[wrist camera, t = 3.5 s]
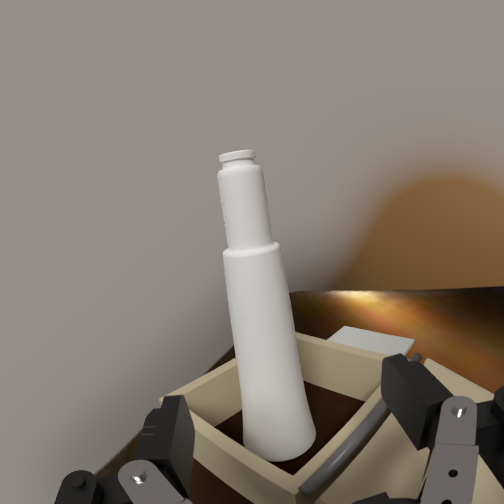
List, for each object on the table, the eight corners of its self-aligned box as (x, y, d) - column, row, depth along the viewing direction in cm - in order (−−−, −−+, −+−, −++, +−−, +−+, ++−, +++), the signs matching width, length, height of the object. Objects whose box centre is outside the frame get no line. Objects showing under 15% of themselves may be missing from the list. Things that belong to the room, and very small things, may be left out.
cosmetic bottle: (267, 474, 20) (209, 148, 15) (231, 432, 25) (175, 165, 20) (331, 438, 22) (306, 141, 18) (288, 405, 28) (255, 155, 23)
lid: (547, 423, 13) (541, 430, 14) (427, 357, 21) (423, 365, 22) (499, 589, 4) (488, 592, 4) (318, 497, 12) (314, 503, 12)
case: (295, 363, 35) (290, 317, 33) (419, 400, 24) (427, 345, 23) (175, 441, 24) (155, 390, 23) (310, 537, 13) (307, 493, 12)
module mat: (344, 328, 41) (344, 325, 41) (414, 342, 33) (414, 339, 33) (297, 365, 34) (297, 362, 34) (378, 390, 27) (378, 387, 27)
